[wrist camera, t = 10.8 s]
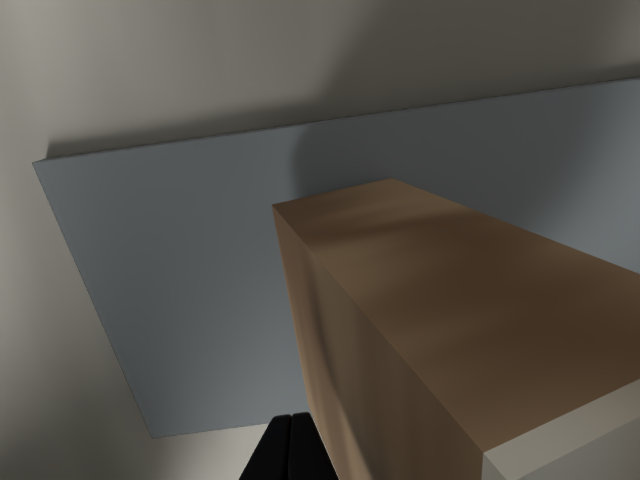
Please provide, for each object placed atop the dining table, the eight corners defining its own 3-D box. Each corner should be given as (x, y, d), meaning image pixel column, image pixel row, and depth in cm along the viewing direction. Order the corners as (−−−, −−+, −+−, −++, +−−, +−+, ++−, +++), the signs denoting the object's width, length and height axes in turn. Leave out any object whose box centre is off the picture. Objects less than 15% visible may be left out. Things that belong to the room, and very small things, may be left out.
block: (308, 404, 14) (471, 793, 6) (271, 204, 11) (510, 483, 3) (400, 369, 15) (641, 665, 7) (391, 177, 12) (798, 335, 4)
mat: (156, 426, 17) (151, 438, 16) (44, 158, 12) (31, 162, 11) (604, 368, 17) (615, 378, 16) (672, 72, 12) (691, 72, 11)
